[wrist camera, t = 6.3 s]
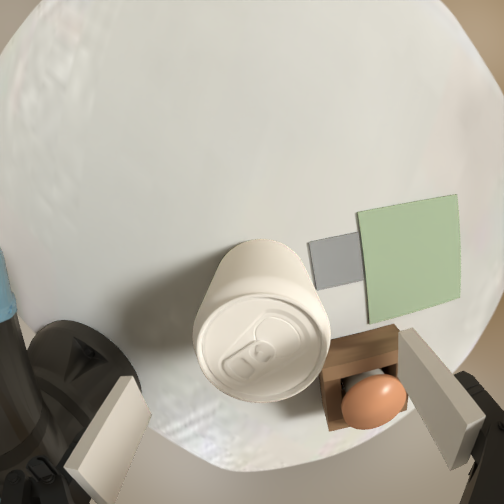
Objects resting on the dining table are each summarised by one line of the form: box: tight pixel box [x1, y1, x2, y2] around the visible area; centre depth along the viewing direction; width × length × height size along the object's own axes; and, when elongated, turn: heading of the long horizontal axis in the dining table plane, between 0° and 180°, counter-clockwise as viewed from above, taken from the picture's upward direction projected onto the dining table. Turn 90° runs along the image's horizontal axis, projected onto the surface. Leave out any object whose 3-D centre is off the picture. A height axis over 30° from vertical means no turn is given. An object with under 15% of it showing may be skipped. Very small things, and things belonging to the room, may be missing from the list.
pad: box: [357, 194, 461, 324], centre depth 27 cm, size 11×11×1 cm
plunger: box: [341, 368, 406, 430], centre depth 26 cm, size 6×6×6 cm
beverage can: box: [192, 239, 331, 403], centre depth 22 cm, size 8×8×12 cm
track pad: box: [309, 232, 364, 290], centre depth 27 cm, size 4×4×1 cm
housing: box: [319, 324, 408, 431], centre depth 28 cm, size 8×8×4 cm
